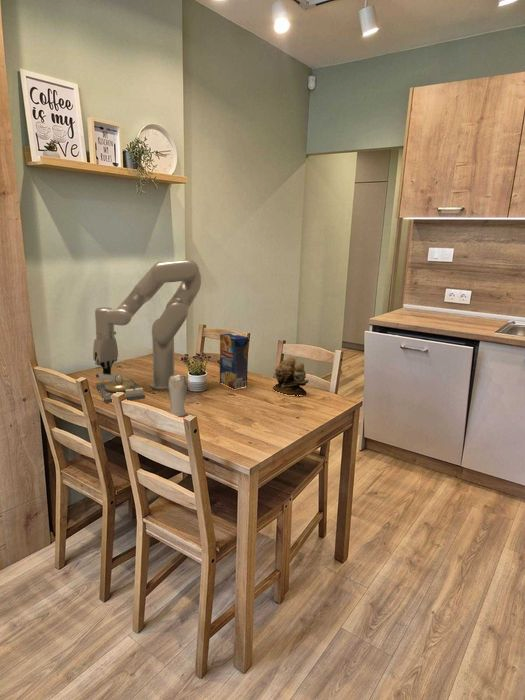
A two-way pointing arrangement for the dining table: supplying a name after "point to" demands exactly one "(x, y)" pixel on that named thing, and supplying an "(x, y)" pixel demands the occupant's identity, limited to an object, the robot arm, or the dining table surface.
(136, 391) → the level stand
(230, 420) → the dining table surface
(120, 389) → the cam foot
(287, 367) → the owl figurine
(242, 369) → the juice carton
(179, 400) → the beer glass
